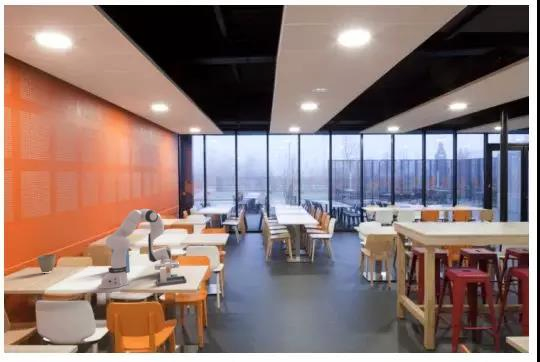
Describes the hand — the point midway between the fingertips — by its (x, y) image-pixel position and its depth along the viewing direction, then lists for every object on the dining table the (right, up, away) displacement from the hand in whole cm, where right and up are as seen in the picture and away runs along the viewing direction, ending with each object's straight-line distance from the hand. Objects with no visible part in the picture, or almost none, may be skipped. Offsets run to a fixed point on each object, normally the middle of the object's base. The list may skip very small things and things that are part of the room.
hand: (167, 267), depth 322 cm
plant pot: (-121, -13, +35) cm, 126 cm away
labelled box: (0, -8, +1) cm, 8 cm away
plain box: (+1, -8, -17) cm, 19 cm away
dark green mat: (0, -9, +1) cm, 9 cm away
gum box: (-51, -10, +30) cm, 60 cm away
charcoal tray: (+7, -8, -15) cm, 18 cm away
